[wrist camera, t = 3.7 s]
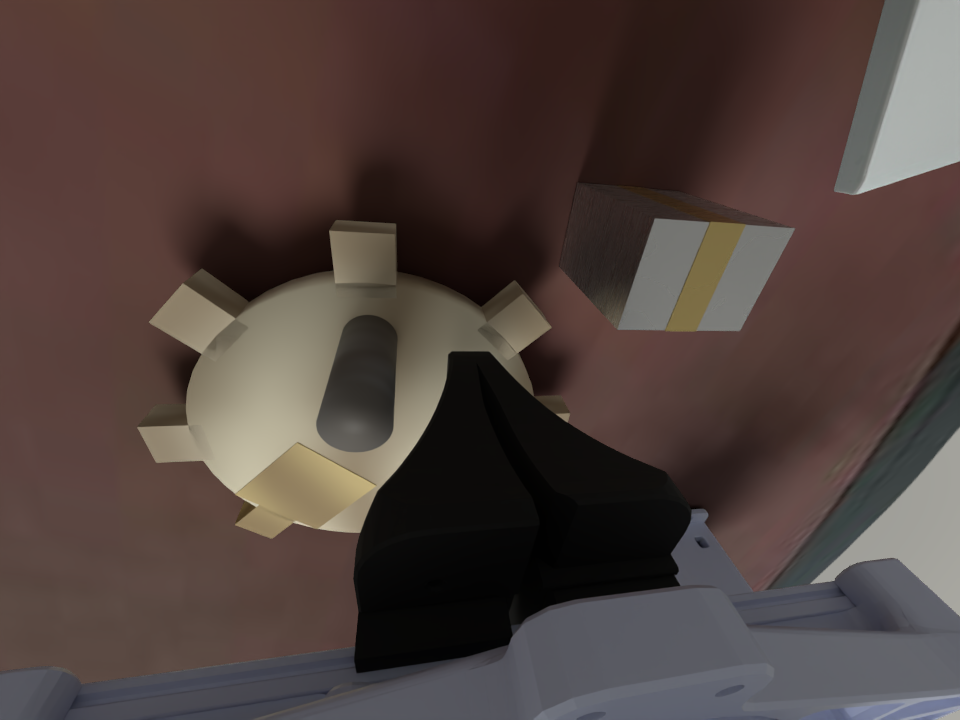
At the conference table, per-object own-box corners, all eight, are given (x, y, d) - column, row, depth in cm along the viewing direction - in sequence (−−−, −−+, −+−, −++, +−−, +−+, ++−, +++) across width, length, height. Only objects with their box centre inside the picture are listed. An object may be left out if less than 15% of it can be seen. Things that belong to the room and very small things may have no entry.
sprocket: (604, 236, 13) (703, 303, 9) (527, 515, 22) (557, 619, 17) (59, 203, 10) (-204, 277, 6) (221, 541, 19) (164, 674, 15)
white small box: (679, 190, 14) (796, 227, 10) (651, 271, 15) (739, 331, 11) (577, 181, 13) (655, 217, 9) (558, 266, 15) (617, 330, 11)
